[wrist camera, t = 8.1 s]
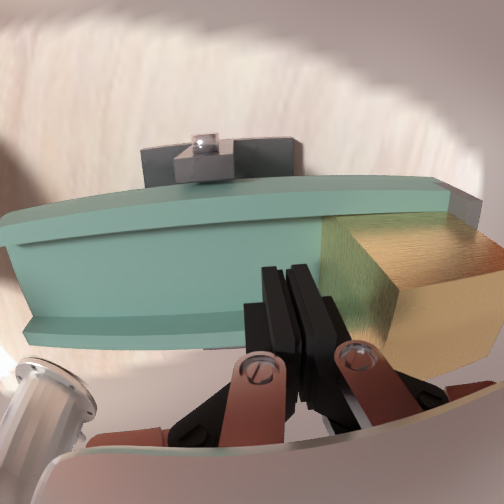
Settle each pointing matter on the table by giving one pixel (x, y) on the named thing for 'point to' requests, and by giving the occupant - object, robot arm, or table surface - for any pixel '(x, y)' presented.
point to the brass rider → (415, 287)
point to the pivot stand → (217, 162)
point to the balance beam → (187, 253)
